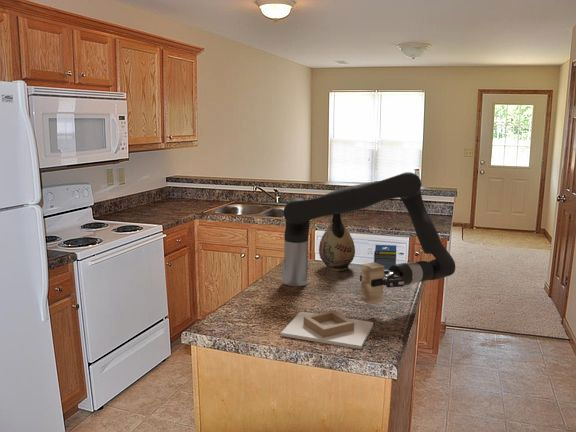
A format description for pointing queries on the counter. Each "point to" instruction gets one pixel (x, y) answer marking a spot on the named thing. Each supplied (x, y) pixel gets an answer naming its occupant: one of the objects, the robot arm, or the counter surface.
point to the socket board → (336, 339)
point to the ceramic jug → (336, 246)
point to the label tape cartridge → (385, 255)
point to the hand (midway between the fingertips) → (366, 281)
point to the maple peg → (367, 291)
